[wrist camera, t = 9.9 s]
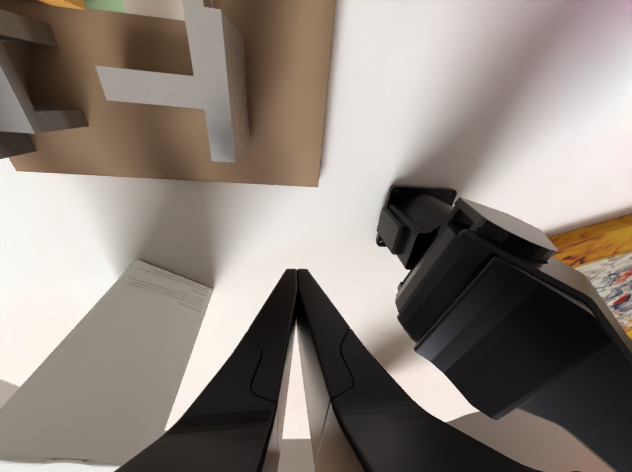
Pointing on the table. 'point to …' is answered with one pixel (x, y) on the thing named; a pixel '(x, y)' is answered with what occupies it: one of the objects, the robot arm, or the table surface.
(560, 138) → the table surface
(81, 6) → the orange block
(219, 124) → the gray t-shaped beam
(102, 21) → the base
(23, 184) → the table surface
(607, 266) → the picture frame
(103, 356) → the skincare box
